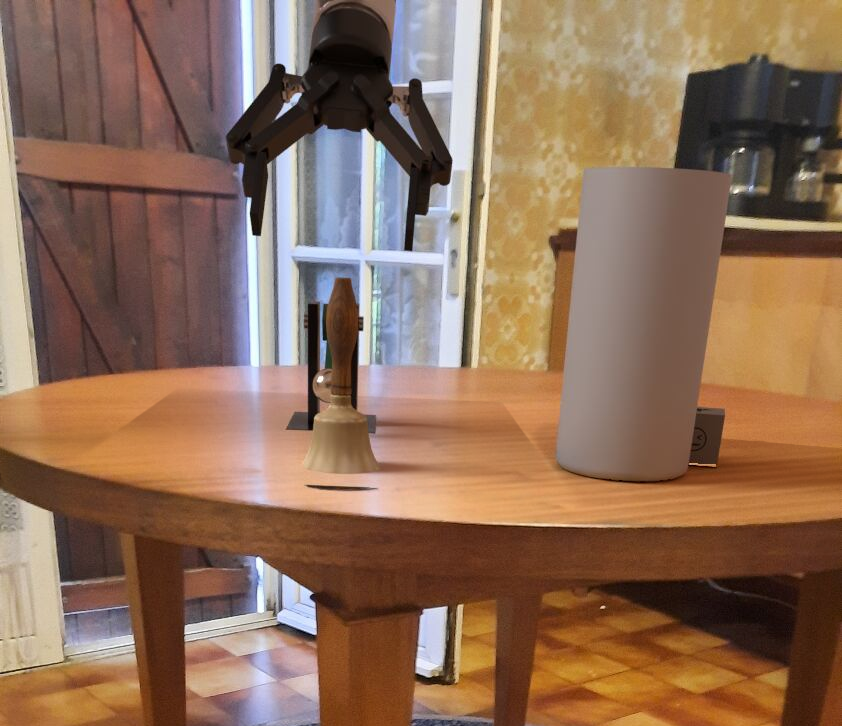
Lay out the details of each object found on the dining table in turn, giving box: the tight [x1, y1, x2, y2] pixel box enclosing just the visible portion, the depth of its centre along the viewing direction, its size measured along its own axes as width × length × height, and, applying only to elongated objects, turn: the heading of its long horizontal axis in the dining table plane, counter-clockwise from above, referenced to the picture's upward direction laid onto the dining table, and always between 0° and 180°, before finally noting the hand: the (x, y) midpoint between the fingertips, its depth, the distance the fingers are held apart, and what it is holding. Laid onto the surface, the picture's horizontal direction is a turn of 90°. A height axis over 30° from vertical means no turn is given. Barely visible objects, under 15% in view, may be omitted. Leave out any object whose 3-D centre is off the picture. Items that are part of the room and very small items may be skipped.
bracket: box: [285, 300, 377, 434], centre depth 110 cm, size 12×9×13 cm
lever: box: [313, 303, 332, 404], centre depth 105 cm, size 13×3×3 cm, turn 1°
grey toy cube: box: [689, 406, 726, 466], centre depth 107 cm, size 5×5×5 cm
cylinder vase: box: [554, 166, 733, 482], centre depth 96 cm, size 12×12×25 cm
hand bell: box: [300, 276, 381, 491], centre depth 88 cm, size 8×8×16 cm
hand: (332, 233), depth 94 cm, fingers open, 13 cm apart
